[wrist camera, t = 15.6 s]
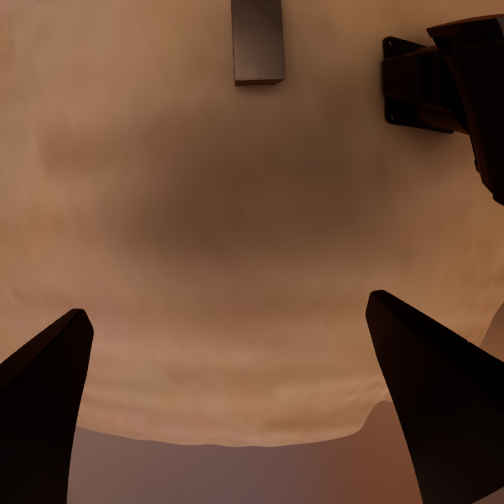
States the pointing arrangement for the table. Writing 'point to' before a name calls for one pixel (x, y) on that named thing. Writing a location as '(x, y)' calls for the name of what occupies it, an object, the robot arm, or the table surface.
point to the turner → (257, 42)
